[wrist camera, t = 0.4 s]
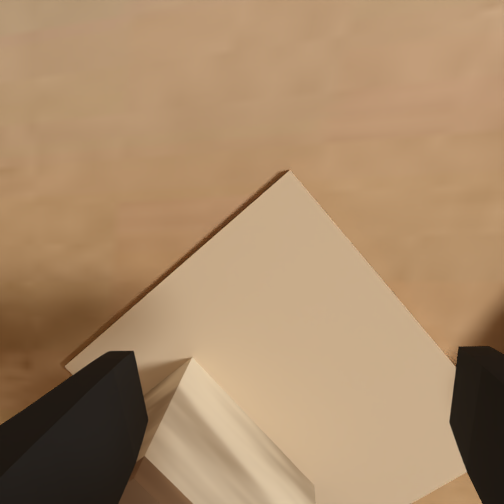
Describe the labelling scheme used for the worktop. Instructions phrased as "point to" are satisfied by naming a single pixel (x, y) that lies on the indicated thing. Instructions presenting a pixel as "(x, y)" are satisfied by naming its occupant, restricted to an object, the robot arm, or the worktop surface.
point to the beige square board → (304, 351)
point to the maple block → (208, 450)
